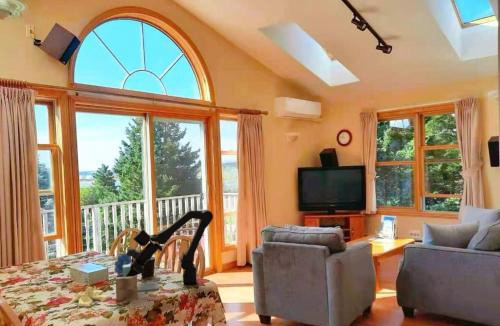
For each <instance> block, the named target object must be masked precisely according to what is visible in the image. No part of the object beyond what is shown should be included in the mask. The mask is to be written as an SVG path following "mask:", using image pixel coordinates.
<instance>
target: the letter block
mask: <svg viewBox="0 0 500 326" xmlns="http://www.w3.org/2000/svg"><path fill="white" fill-rule="evenodd" d="M130 269H131V263H130V264H128V265H123V274H122V277H126V275H127V274H128V272H129V271H130Z"/></svg>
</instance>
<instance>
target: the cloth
mask: <svg viewBox="0 0 500 326" xmlns="http://www.w3.org/2000/svg"><path fill="white" fill-rule="evenodd" d="M102 293H104V291H103V290H101V289H95V290H94V289H93V287H90V286H89V287H87V288H86V289H85V291H84V292H83V293H78V294H76V295H74V296H73V297H72V299H71V300H70V301H69V302H68V303H67V306H68V305H69V306H70V305H73V304H75V302H77V301H78V303H77V307H90V305H92V303H93V300H95V301H96V300H97V301H99V302H101V303H103V302H106V301H107V300H108V299H110V297H111V296H110V295H109V294H102Z"/></svg>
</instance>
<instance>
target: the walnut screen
mask: <svg viewBox="0 0 500 326" xmlns="http://www.w3.org/2000/svg"><path fill="white" fill-rule="evenodd" d="M137 290H138V275H136V276H131V277H123V276H118V277H117V276H116V278H115V296H116V297H115V301H116V302H117V300H118V301H132V300H133V301H134V300H137V298H138V292H137Z"/></svg>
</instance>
